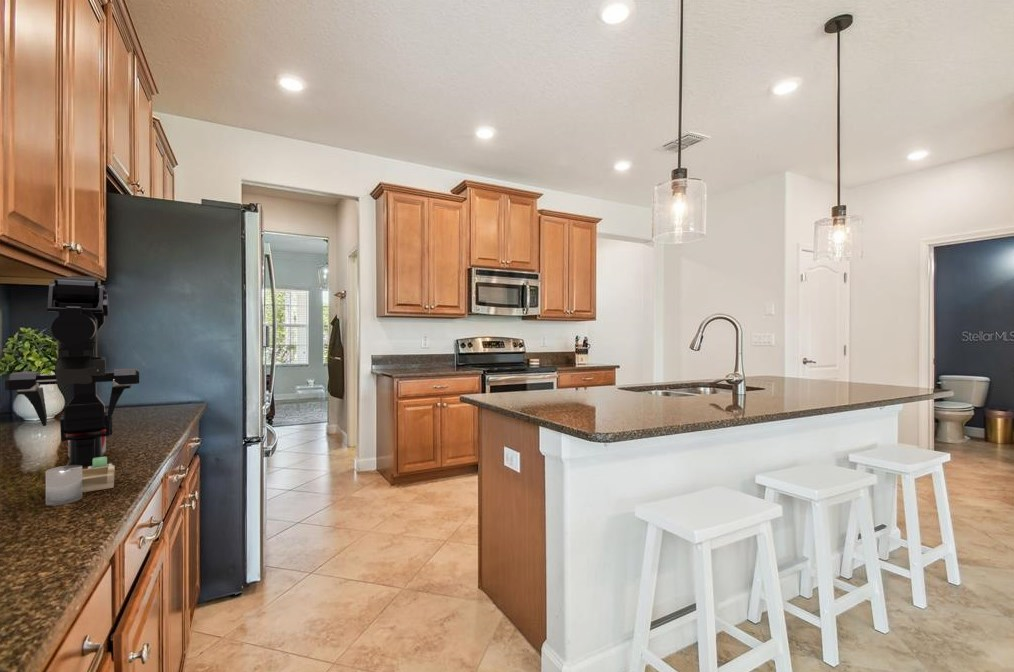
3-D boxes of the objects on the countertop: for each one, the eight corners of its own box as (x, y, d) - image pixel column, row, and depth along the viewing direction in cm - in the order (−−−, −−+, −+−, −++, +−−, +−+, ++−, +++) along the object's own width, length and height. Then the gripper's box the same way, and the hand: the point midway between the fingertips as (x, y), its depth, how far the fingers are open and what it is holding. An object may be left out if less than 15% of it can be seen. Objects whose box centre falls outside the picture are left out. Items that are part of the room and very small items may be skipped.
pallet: (57, 484, 96) (57, 472, 96) (114, 476, 102) (114, 465, 102) (51, 497, 89) (51, 484, 89) (113, 487, 95) (113, 475, 95)
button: (92, 471, 102) (92, 457, 102) (107, 469, 104) (107, 456, 104) (92, 474, 101) (92, 460, 101) (106, 471, 102) (106, 458, 102)
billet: (47, 499, 88) (47, 468, 88) (83, 493, 91) (83, 463, 91) (43, 507, 84) (43, 474, 84) (81, 501, 87) (81, 469, 87)
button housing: (88, 474, 103) (88, 466, 103) (112, 471, 105) (112, 463, 105) (87, 479, 99) (87, 471, 99) (111, 475, 102) (111, 467, 102)
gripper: (-3, 345, 78) (-2, 437, 78) (139, 343, 90) (139, 424, 90) (10, 342, 87) (11, 425, 87) (138, 341, 98) (138, 415, 99)
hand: (77, 422), depth 90 cm, fingers open, 9 cm apart
